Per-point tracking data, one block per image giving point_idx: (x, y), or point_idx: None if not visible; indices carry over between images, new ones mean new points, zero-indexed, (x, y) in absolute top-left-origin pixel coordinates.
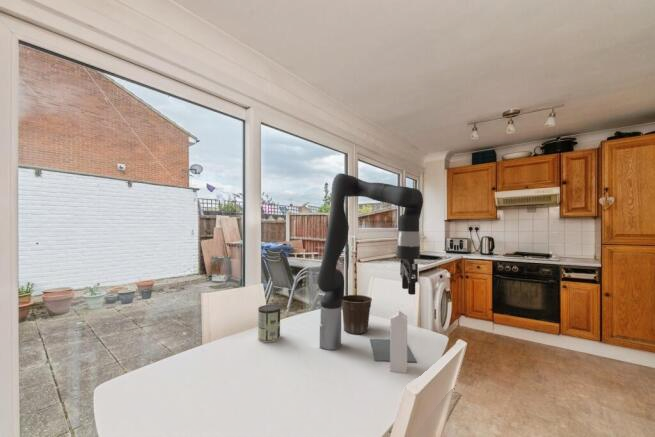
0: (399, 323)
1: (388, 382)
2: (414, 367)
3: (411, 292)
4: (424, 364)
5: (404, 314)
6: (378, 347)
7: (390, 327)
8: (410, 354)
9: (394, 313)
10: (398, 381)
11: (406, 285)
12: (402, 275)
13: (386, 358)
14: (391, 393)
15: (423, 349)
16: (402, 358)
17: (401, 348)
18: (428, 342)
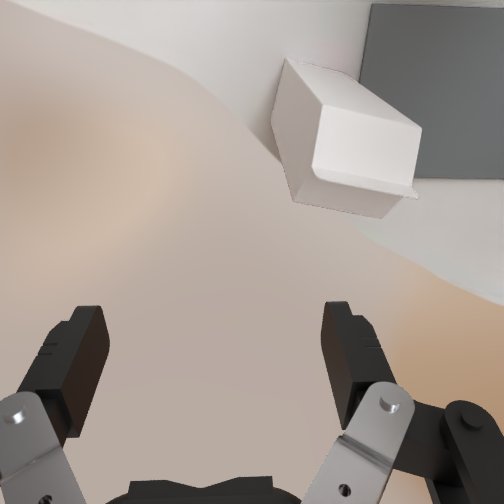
0: (301, 152)
1: (203, 33)
2: None
3: (59, 334)
4: None
5: (381, 209)
6: (492, 43)
7: (313, 93)
8: None
9: (395, 150)
10: (214, 75)
11: (329, 350)
12: (355, 417)
13: (380, 62)
14: (132, 30)
15: (439, 224)
16: (278, 118)
17: (284, 125)
18: (489, 255)
